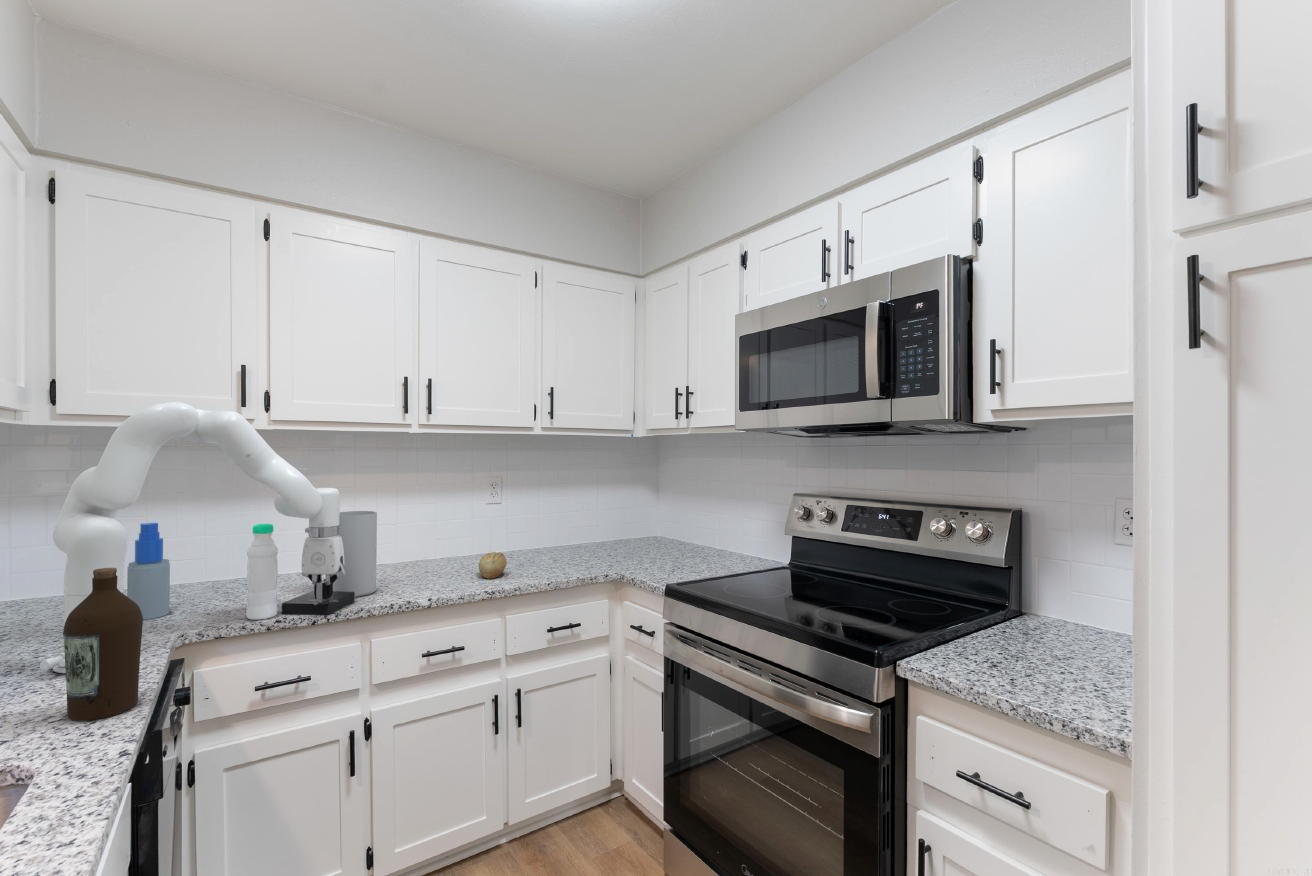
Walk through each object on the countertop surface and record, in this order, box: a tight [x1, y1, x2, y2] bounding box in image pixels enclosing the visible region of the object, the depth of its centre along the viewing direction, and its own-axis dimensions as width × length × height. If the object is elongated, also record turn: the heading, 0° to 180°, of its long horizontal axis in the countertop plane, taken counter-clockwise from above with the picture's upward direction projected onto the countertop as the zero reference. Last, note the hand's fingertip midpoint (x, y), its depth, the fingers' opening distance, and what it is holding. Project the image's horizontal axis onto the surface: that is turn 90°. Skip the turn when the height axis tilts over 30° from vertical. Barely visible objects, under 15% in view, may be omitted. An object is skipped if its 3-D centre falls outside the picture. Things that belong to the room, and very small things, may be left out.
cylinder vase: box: [333, 510, 378, 598], centre depth 195 cm, size 12×12×25 cm
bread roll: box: [478, 551, 508, 580], centre depth 223 cm, size 10×15×8 cm, turn 10°
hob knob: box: [316, 578, 330, 603], centre depth 174 cm, size 4×2×6 cm, turn 177°
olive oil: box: [62, 568, 144, 722], centre depth 111 cm, size 11×11×25 cm
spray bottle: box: [126, 522, 171, 621], centre depth 169 cm, size 9×9×25 cm
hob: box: [281, 590, 356, 616], centre depth 178 cm, size 15×14×3 cm
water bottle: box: [245, 523, 279, 621], centre depth 169 cm, size 7×7×25 cm
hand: (323, 597), depth 174 cm, fingers closed on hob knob
